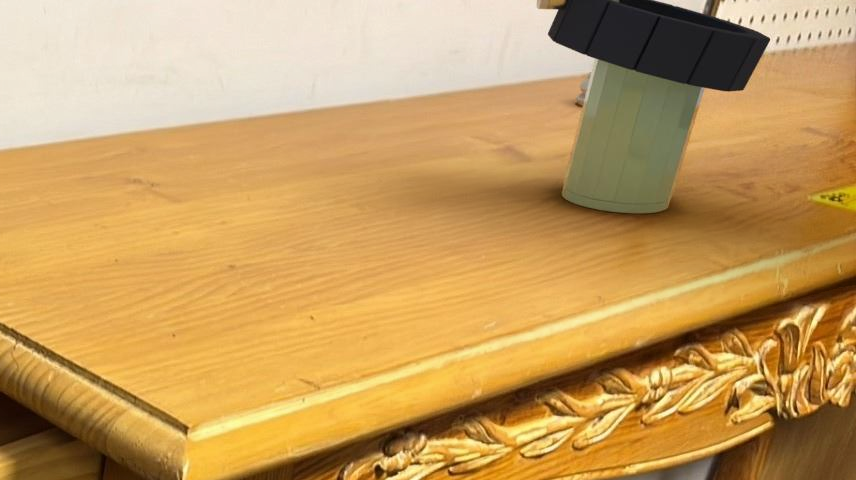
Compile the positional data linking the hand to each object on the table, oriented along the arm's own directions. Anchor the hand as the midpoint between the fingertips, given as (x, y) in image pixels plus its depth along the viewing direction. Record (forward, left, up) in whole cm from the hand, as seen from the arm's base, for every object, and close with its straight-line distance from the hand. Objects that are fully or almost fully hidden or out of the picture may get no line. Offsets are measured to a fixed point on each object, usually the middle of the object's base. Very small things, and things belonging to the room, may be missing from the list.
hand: (575, 9), depth 74 cm
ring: (-4, 0, -3) cm, 5 cm away
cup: (-5, 0, -11) cm, 12 cm away
